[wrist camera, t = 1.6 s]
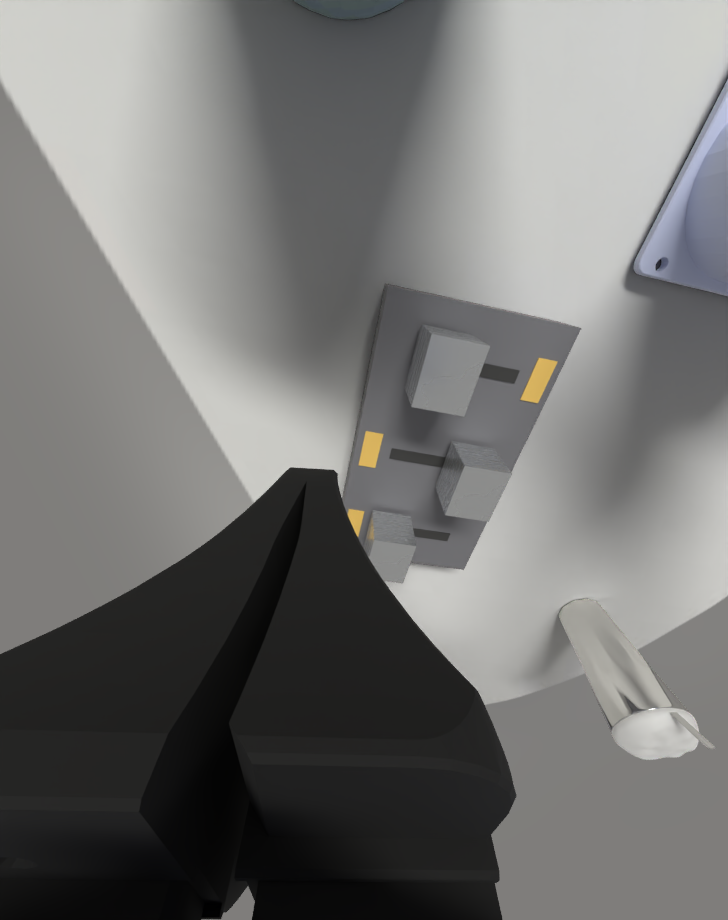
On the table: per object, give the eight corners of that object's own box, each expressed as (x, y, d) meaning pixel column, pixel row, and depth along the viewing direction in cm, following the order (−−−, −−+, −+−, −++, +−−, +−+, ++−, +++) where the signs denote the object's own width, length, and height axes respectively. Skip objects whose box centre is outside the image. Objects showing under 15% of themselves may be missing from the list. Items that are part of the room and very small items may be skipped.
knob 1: (410, 515, 19) (416, 546, 17) (398, 551, 21) (402, 583, 18) (372, 510, 19) (374, 540, 17) (363, 546, 20) (363, 578, 18)
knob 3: (493, 448, 17) (512, 473, 15) (474, 492, 18) (488, 521, 16) (451, 441, 17) (464, 465, 15) (435, 486, 18) (444, 515, 16)
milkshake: (623, 586, 26) (756, 749, 17) (595, 629, 28) (697, 789, 20) (564, 584, 26) (669, 747, 17) (542, 627, 28) (622, 788, 20)
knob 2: (471, 334, 14) (490, 345, 12) (450, 396, 16) (464, 416, 14) (421, 323, 14) (431, 333, 12) (404, 387, 15) (411, 406, 13)
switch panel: (557, 321, 16) (581, 328, 14) (456, 547, 24) (464, 570, 22) (385, 283, 15) (388, 285, 14) (335, 530, 23) (333, 552, 21)
